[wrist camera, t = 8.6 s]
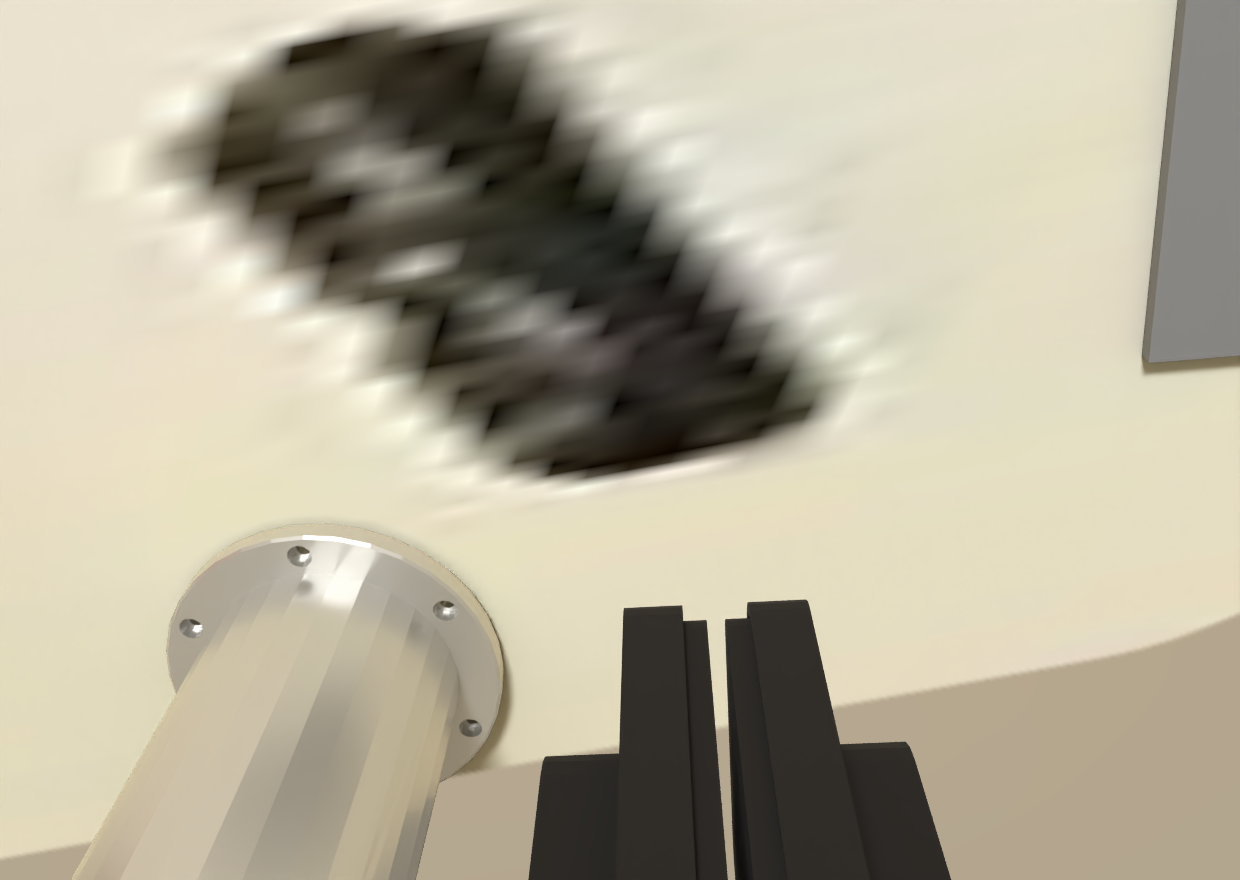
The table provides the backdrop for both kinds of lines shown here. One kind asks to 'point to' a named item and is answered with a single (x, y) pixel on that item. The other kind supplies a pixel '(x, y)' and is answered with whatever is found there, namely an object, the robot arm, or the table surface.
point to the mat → (1199, 193)
